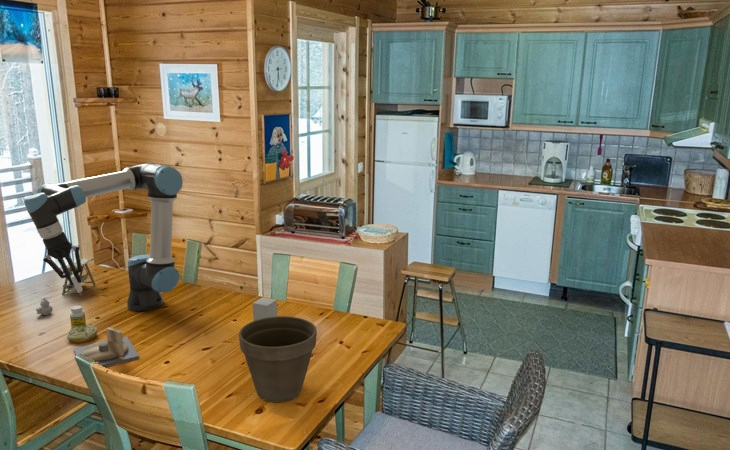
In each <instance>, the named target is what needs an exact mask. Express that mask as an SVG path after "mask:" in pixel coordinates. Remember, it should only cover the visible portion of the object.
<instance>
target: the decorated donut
mask: <svg viewBox="0 0 730 450" xmlns="http://www.w3.org/2000/svg"><path fill="white" fill-rule="evenodd" d="M97 334H98V328H97V327H96V326H94V325H89V324H88V325H87V324H86V326H78V327H75V328H73V329H72V328H71V329H69V330H68V332H67V333H66V339H67V340H68V341H69V342H71V343H73V344H83V343H86V342H89V340H90V341H92V340H93V339H94V338H96V336H97Z"/></svg>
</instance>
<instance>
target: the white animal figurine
mask: <svg viewBox="0 0 730 450" xmlns="http://www.w3.org/2000/svg"><path fill="white" fill-rule="evenodd" d="M39 304H40V306H39V307H37V308H36V309H35V311H36V314H37V315H44V316H47V315H50V314H51V313H52V312H53V306H51V305H50V301H49V300H48V299H46V297H44V298H42V299H41V301H40V303H39Z"/></svg>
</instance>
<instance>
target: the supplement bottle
mask: <svg viewBox="0 0 730 450" xmlns="http://www.w3.org/2000/svg"><path fill="white" fill-rule="evenodd" d="M70 311H71V312H70V313H69V319H70V326H71V329H73V328H75V327H78V326H87V322H86V321H87V320H86V314H85V311H84V310H83V306H82V305H74V306H71V308H70Z"/></svg>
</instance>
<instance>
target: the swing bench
mask: <svg viewBox="0 0 730 450" xmlns="http://www.w3.org/2000/svg"><path fill="white" fill-rule="evenodd" d="M80 260H81V266H82V271H81V272H80V273H79V276H80V278H81V282H79V283H80V284H82V283H85V284H86V283H90V284H92V285H93V287H94V286H97V284H96V282H95V279H94V277H93V275H92V273H91V270H90V267H89V266H88V264H89V263H90V262H91V261H94V258H93V257H83V258H80ZM74 265H75V267H76V269H77V263H74ZM67 268H68V270H69V272H70V273H71V275H73V272H72V270H71V268H70V266H69V267H68V266H67ZM84 270H85V271H86V274H83V272H84ZM62 272H63V273H64V271H63V270H62ZM64 274H65V273H64ZM88 277H89V278H90V281H89V280H87V279H88ZM63 283H64V284H63V285H62V287H63V289H62V293H61V295H62V296H65V295H66V293H75V294H77V293H78V292H77V290H74V289H76V288H75V286H74V285H70V283H69V281H68V279H67V278H64V282H63ZM78 295H79V296H80V297H82V296H83V293H82V291H81V292H79V293H78Z"/></svg>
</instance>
